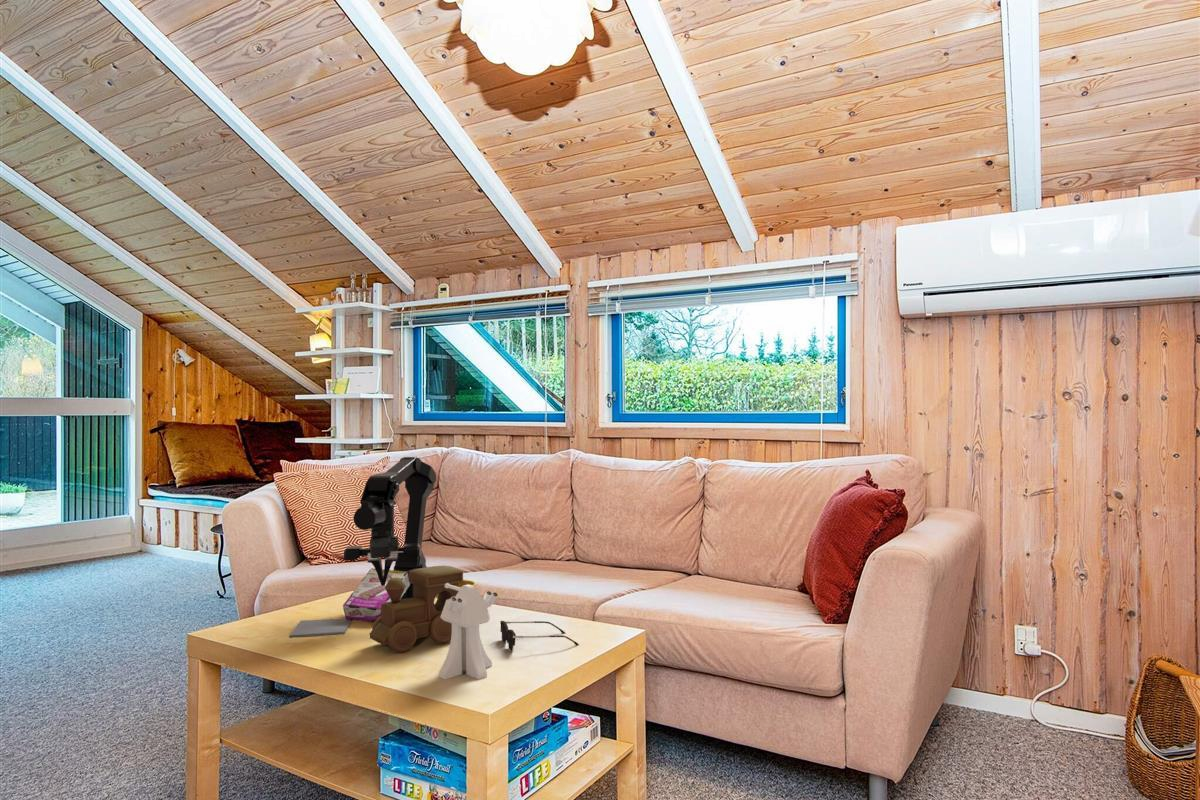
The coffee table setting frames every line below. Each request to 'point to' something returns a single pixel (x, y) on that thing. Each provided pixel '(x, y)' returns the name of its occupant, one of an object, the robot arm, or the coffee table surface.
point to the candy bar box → (371, 596)
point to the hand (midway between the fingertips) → (383, 585)
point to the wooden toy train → (416, 608)
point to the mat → (321, 627)
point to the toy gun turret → (466, 632)
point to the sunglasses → (511, 636)
